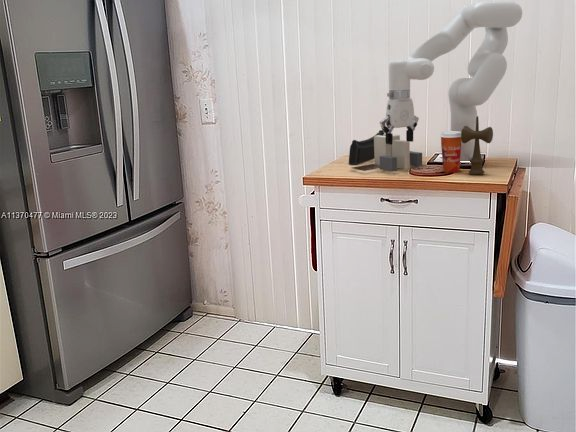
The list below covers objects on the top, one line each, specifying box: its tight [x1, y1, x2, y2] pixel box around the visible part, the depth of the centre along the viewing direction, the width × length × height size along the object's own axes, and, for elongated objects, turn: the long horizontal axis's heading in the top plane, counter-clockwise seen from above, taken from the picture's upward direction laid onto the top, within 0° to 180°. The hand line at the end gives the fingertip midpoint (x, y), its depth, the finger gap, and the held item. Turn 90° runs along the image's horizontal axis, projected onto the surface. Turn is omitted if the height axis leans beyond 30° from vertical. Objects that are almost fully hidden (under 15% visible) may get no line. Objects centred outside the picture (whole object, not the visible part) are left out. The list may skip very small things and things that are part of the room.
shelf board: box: [351, 163, 380, 172], centre depth 228 cm, size 9×17×1 cm, turn 119°
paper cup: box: [439, 130, 461, 174], centre depth 212 cm, size 8×8×14 cm
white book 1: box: [373, 135, 391, 165], centre depth 227 cm, size 7×2×11 cm, turn 29°
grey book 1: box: [379, 155, 398, 172], centre depth 218 cm, size 7×2×6 cm, turn 29°
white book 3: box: [392, 139, 411, 170], centre depth 220 cm, size 7×2×11 cm, turn 29°
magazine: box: [348, 129, 385, 166], centre depth 243 cm, size 17×3×30 cm
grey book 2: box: [410, 150, 423, 168], centre depth 224 cm, size 7×2×6 cm, turn 29°
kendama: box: [461, 115, 494, 176], centre depth 204 cm, size 6×10×20 cm, turn 52°
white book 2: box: [383, 133, 401, 156], centre depth 229 cm, size 7×2×11 cm, turn 29°
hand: (399, 142), depth 219 cm, fingers open, 9 cm apart
